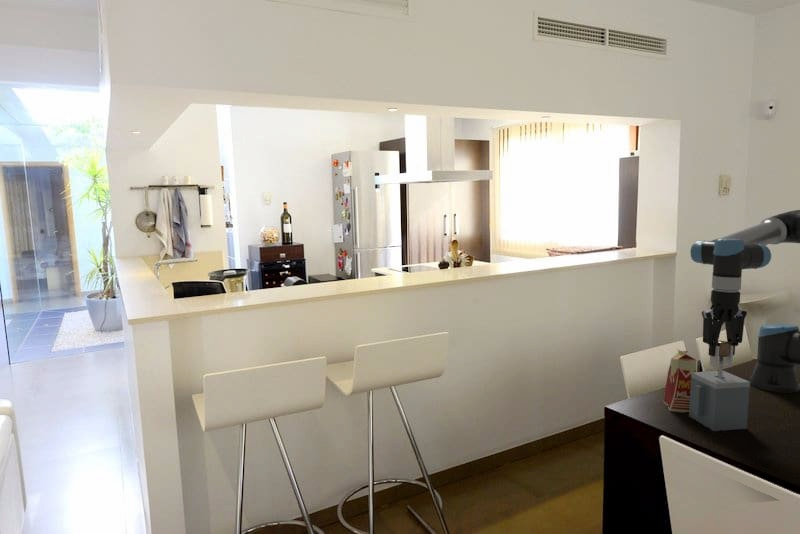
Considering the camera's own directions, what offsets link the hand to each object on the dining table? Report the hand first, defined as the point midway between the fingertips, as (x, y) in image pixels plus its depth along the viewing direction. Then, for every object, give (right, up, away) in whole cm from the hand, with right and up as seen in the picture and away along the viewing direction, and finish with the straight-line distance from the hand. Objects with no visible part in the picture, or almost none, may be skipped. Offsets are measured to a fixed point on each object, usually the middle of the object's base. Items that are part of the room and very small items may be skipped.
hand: (720, 365), depth 167 cm
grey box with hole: (0, -18, +2) cm, 18 cm away
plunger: (0, -17, +2) cm, 17 cm away
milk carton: (-5, -17, +15) cm, 23 cm away
